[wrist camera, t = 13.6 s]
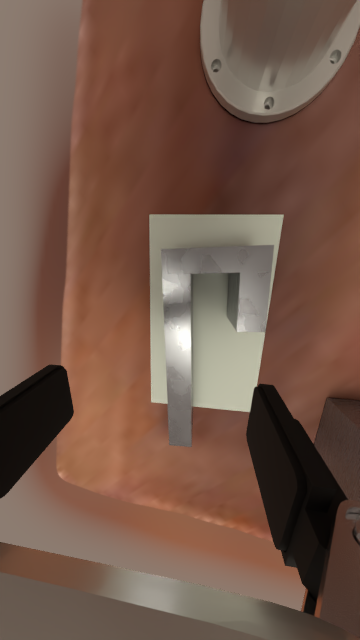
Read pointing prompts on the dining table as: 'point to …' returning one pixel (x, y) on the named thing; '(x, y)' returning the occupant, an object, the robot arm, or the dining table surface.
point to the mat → (210, 308)
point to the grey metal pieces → (341, 443)
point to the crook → (177, 281)
